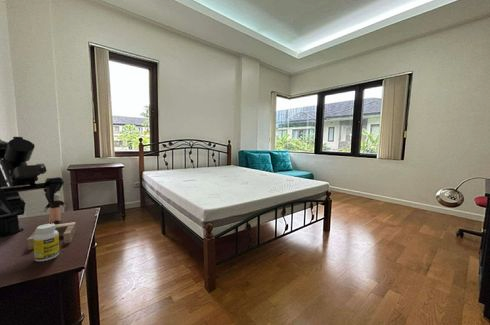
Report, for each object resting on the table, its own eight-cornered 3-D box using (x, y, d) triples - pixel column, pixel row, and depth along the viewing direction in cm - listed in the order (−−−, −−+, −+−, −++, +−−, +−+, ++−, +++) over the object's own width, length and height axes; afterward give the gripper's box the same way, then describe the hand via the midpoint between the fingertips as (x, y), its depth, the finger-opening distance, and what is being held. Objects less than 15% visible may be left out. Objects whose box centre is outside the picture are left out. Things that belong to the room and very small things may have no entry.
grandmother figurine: (50, 224, 84) (49, 195, 83) (42, 224, 84) (41, 194, 83) (69, 218, 92) (67, 191, 90) (61, 217, 92) (60, 190, 91)
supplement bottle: (43, 263, 58) (42, 230, 57) (29, 260, 59) (27, 228, 58) (64, 253, 63) (62, 223, 62) (50, 251, 64) (49, 221, 63)
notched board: (38, 236, 73) (38, 227, 73) (76, 231, 79) (75, 222, 79) (27, 249, 64) (27, 238, 64) (70, 242, 70) (70, 232, 70)
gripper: (-25, 156, 56) (-8, 201, 52) (60, 154, 73) (77, 188, 69) (-31, 181, 60) (-16, 224, 56) (50, 174, 77) (66, 207, 73)
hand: (33, 209), depth 63 cm, fingers open, 9 cm apart
